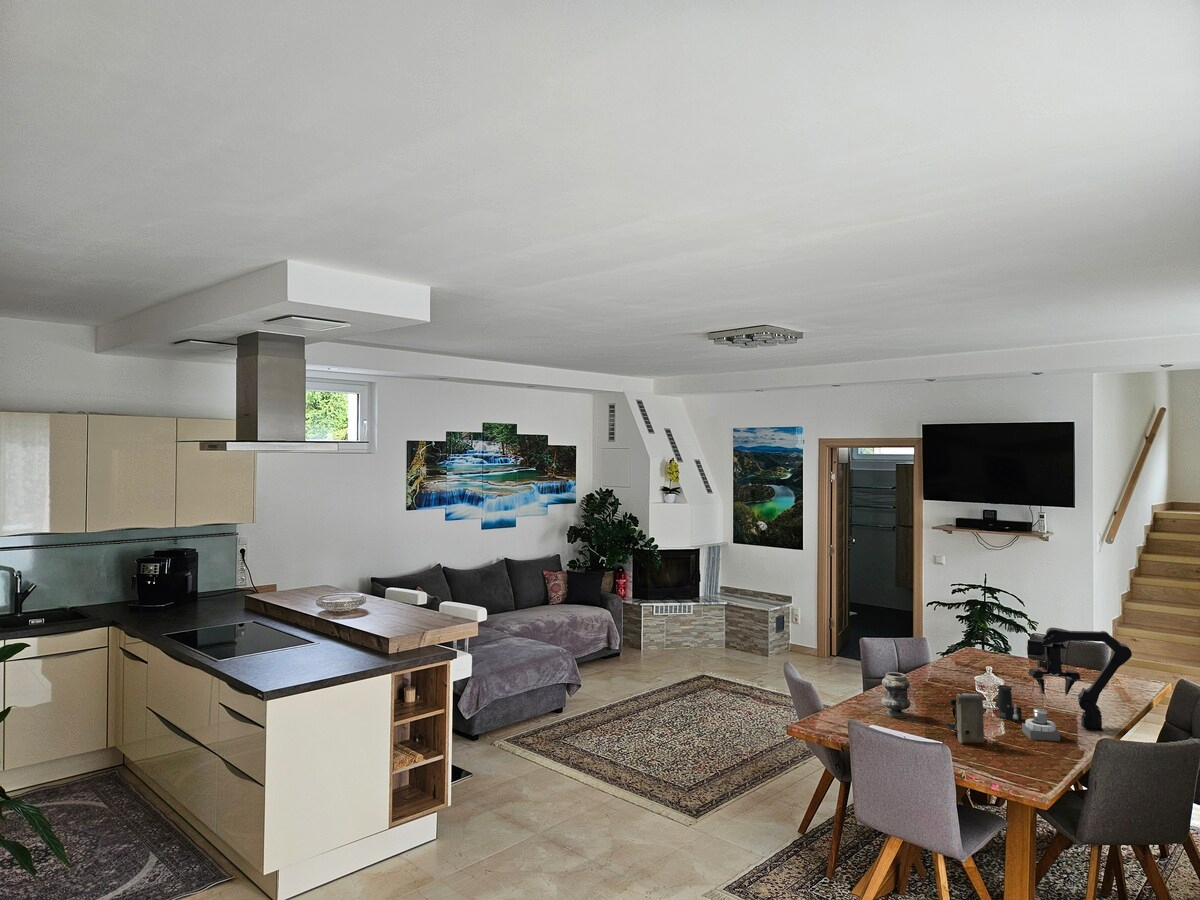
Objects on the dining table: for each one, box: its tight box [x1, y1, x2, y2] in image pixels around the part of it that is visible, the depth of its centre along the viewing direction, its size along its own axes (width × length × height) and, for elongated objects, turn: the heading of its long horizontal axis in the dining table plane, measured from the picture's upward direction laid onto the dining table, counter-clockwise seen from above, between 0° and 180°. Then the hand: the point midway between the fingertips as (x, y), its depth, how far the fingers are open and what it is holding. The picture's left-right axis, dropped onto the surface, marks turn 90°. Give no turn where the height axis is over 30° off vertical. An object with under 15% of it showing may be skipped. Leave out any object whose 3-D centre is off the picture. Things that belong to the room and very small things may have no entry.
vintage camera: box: [944, 692, 985, 745], centre depth 321 cm, size 10×15×20 cm, turn 2°
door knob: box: [1032, 707, 1048, 725], centre depth 323 cm, size 5×5×7 cm
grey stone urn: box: [881, 671, 912, 719], centre depth 351 cm, size 12×12×18 cm
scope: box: [994, 684, 1023, 724], centre depth 345 cm, size 8×14×10 cm
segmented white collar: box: [1021, 718, 1061, 742], centre depth 323 cm, size 11×10×6 cm
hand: (1054, 694), depth 339 cm, fingers open, 9 cm apart
